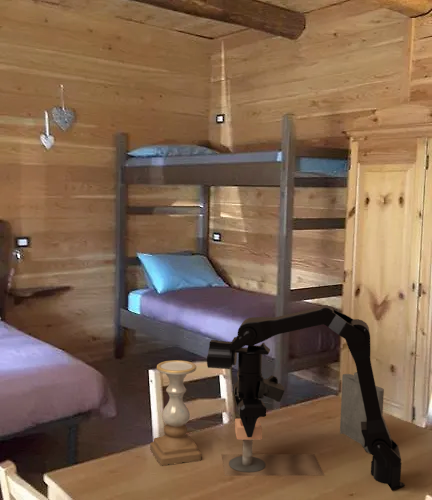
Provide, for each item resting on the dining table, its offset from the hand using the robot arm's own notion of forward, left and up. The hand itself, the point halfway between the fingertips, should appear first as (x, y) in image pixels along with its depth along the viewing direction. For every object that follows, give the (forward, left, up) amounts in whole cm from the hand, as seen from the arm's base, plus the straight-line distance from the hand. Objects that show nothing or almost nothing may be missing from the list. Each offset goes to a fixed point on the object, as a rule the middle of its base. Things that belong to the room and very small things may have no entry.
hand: (248, 432), depth 163 cm
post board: (-3, -5, -10) cm, 12 cm away
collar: (0, 0, -1) cm, 1 cm away
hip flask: (-2, -36, -10) cm, 38 cm away
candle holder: (+17, +11, -10) cm, 23 cm away
